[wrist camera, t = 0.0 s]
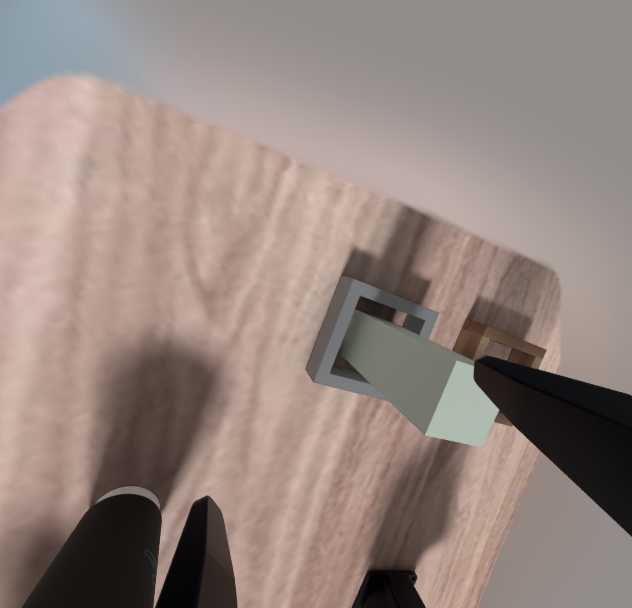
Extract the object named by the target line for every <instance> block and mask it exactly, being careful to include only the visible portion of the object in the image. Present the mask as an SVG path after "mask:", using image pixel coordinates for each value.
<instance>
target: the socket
mask: <svg viewBox="0 0 632 608" xmlns="http://www.w3.org/2000/svg"><path fill="white" fill-rule="evenodd" d="M360 296H362V297H365V298H368V299H370V300H373V301H376V302H378V303H381V304H384V305H386V306H389V307H392V308H394V309H397V310H400V311H402V312H405V313H408V316H407V318H406V320H405V323H404V325H403V328H405V329H407V330H409V331H411V332H413V333H416V334H418V335H420V336H422V337H424V338H426V339H429V336H430V334H431V331H432V329H433V327H434V324H435V322H436V319H437V317H438V315H439V312H436V311H434V310H431V309H429V308H426V307H423V306H421V305H418V304H416V303H413V302H411V301H408V300H406V299H403V298H401V297H398V296H396V295H393V294H391V293H388V292H386V291H383V290H381V289H378V288H376V287H373V286H371V285H368V284H365V283H363V282H360V281H358V280H355V279H352V278H349V277H345V276H341V278H340V280H339V283H338V286H337V288H336V291H335V293H334V296H333V299H332V301H331V304H330V306H329V309H328V312H327V314H326V317H325V320H324V322H323V325H322V327H321V330H320V333H319V335H318V338H317V340H316V343H315V346H314V348H313V351H312V354H311V356H310V359H309V361H308V364H307V367H306V369H305V370H306V371H307V373H308V375H309V376H310V378H311V379H312V381H313V382H314V383H318V384H322V385H326V386H330V387H334V388H338V389H342V390H346V391H350V392H354V393H358V394H362V395H366V396H371V397H375V398H379V399H383V400H387V399H386V398H385V397H384V396H383V395H382V394H381V393H380V392H379V391H378V390H377V389H376V388H375V387H374V386H373V385H372V384H371V383H370V382H369V381H368V380H367V379H365V378H364V377H363V376H362V375H361V374H360V373H359V372H356V371H352V370H348V369H345V368H341V367H338V366H334V365H333V364H334V361H335V358H336V356H337V353H338V351H339V348H340V346H341V343H342V340H343V338H344V335H345V333H346V330H347V328H348V325H349V323H350V320H351V317H352V315H353V312H354V310H355V307H356V305H357V302H358V299H359V297H360ZM387 401H388V400H387Z"/></svg>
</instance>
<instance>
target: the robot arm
mask: <svg viewBox="0 0 632 608" xmlns="http://www.w3.org/2000/svg"><path fill="white" fill-rule="evenodd" d="M473 378H474V381H475V383H476V384H477V385H478V387H479V388H480V389H481V390H482V391H483V392H484V393H485V395H486V396H487V397H488V398H489V399H490V400H491V401H492V402H493V404H494V405H495V406H496V407H497V408H498V409H499V410H500V411H501V413H502V414H503V415H504V416H505V417H506V418H507V419H508V420H509V421H510V422H511V423H512V424H513V425H514V426H515V427H516V428H517V429H518V430H519V431H520V432H521V433H522V434H523V435H524V436H525V437H526V438H527V439H529V440H530V441H531V442H532V443H533V444H534V445H535V446H536V447H537V448H538V449H539V450H540V451H541V452H542V453H543V454H544V455H546V456H547V457H548V458H549V459H550V460H551V461H552V462H553V463H554V464H555V465H556V466H557V467H558V468H559V469H560V470H561V471H563V472H564V473H565V474H566V475H567V476H568V477H569V478H570V479H571V480H572V481H573V482H574V483H575V484H576V485H577V486H579V488H581V489H582V490H583V491H584V492H585V493H586V494H587V495H588V496H589V497H590V498H591V499H592V500H593V501H594V502H595V503H596V504H598V505H599V506H600V507H601V508H602V509H603V510H604V511H605V512H606V513H607V514H608V515H609V516H610V517H612V519H613V520H614V521H616V522H617V523H618V524H619V525H620V526H621V527H622V528H623V529H624V530H625V531H626V532H627V533H629V535H631V536H632V396H631V395H629V394H626V393H622V392H619V391H615V390H611V389H607V388H604V387H600V386H596V385H593V384H590V383H586V382H582V381H579V380H575V379H571V378H568V377H564V376H560V375H557V374H553V373H550V372H546V371H542V370H539V369H535V368H531V367H528V366H524V365H520V364H517V363H513V362H510V361H506V360H502V359H499V358H495V357H491V356H482V357H480V358H478V359H476V360H475V362H474V372H473ZM416 580H417V575H416V573H415V572H414V571H371V572H369V573H368V575H367V577H366V579H365V582H364V584H363V586H362V589H361V591H360V593H359V596H358V598H357V600H356V603H355V605H354V607H353V608H426V607H425V605H424V603H423V602H422V600H421V598H420V596H419V594H418V592H417V591H416V589H415V587H414V585H415V582H416ZM155 608H238V607H237V596H236V586H235V578H234V572H233V566H232V561H231V556H230V551H229V545H228V540H227V535H226V530H225V524H224V519H223V515H222V512H221V510H220V508H219V507H218V506H217V504H216V503H215V502H214V501H213V499H212V498H211V497H210V496H205V497H203V498H201V499H199V500H197V501H195V502H194V503H193V505H192V507H191V509H190V512H189V515H188V518H187V520H186V523H185V526H184V529H183V532H182V534H181V537H180V540H179V543H178V545H177V548H176V551H175V554H174V557H173V559H172V562H171V565H170V568H169V570H168V573H167V576H166V579H165V582H164V584H163V587H162V590H161V593H160V595H159V598H158V601H157V604H156V607H155Z"/></svg>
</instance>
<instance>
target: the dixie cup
mask: <svg viewBox="0 0 632 608" xmlns="http://www.w3.org/2000/svg"><path fill="white" fill-rule="evenodd" d="M161 524H162V516H161V512H160V503H159V501H158V499H157V497H156V496H155V495H154V494H153V493H152V492H151V491H149V490H147V489H145V488H142V487H137V486H126V487H121V488H117V489H114V490H112V491H110V492H108V493H106V494H105V495H103V496H102V497H101V498H100V499H99V500H98V501H97V502H96V503H95V505H93V506H92V507H91V508H90V509H89V510H88V511H87V512H86V513H85V515H84V516H83V517H82V519H81V520H80V522H79V523H78V525H77V526H76V528H75V529H74V531H73V532H72V534H71V535H70V537H69V538H68V540H67V541H66V543H65V544H64V546H63V547H62V549H61V550H60V552H59V553H58V555H57V556H56V557H55V559H54V560H53V562H52V563H51V565H50V566H49V568H48V569H47V571H46V572H45V574H44V575H43V577H42V578H41V580H40V581H39V583H38V584H37V586H36V587H35V589H34V590H33V592H32V593H31V595H30V596H29V598H28V599H27V601H26V602H25V604H24V605H23V606H22V608H153V605H154V594H155V584H156V574H157V564H158V554H159V544H160V534H161Z"/></svg>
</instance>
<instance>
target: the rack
mask: <svg viewBox="0 0 632 608" xmlns="http://www.w3.org/2000/svg"><path fill="white" fill-rule="evenodd" d="M490 340H493V341H495V342H498V343H501V344H503V345H506V346H508V347H511V348H513V350H512V352H511V354H510V356H509V359H508V361H510V362H513V363H517V364H520V365H524V366H528V367H531V368H535V369H538V368H539V366H540V363H541V361H542V359H543V357H544V355H545V352H546V349H543V348H541V347H538V346H536V345H533V344H531V343H528V342H526V341H523V340H521V339H519V338H516V337H514V336H511V335H509V334H506V333H504V332H501V331H499V330H496V329H494V328H491V327H489V326H486V325H483V324H480V323H477V322H474V321H470V320H467V319H466V321H465V323H464V325H463V328H462V330H461V332H460V335H459V337H458V339H457V342H456V344H455V347H454V349H453V351H454V352H456V353H458V354H460V355H462V356H464V357H467V358H469V359H471V360H473V361H475V360H476V359H478V358H480V357H482V356H483V355H484V353H485V350H486V348H487V346H488V343H489V341H490ZM494 422H497V423H501V424H504V425H508V426H513V424H512V423H511V422H510V421H509V420H508V419H507V418H506V417H505V416H504V415H503V414H502V413H501V411H500V410H499V411H498V413H497V416H496V418H495V420H494Z"/></svg>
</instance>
